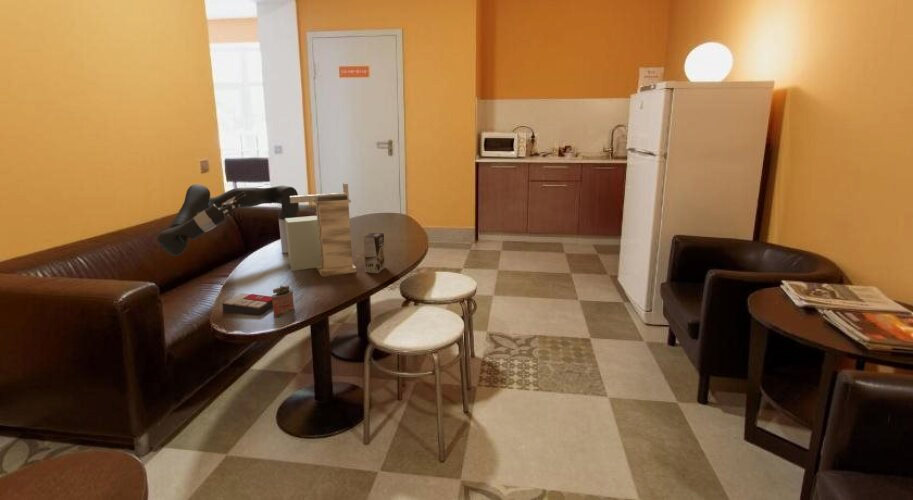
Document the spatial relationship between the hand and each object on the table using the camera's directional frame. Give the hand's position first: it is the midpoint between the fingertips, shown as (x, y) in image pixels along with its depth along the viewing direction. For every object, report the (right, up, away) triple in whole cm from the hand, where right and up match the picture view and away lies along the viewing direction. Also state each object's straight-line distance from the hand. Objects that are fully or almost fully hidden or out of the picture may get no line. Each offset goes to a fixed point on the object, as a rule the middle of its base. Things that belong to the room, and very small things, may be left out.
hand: (246, 195), depth 199 cm
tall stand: (+31, -31, +23) cm, 49 cm away
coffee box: (+48, -31, +24) cm, 62 cm away
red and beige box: (+10, -44, -20) cm, 49 cm away
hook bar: (+26, -1, +13) cm, 29 cm away
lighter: (+24, -44, -25) cm, 56 cm away
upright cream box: (+16, -29, +31) cm, 46 cm away
